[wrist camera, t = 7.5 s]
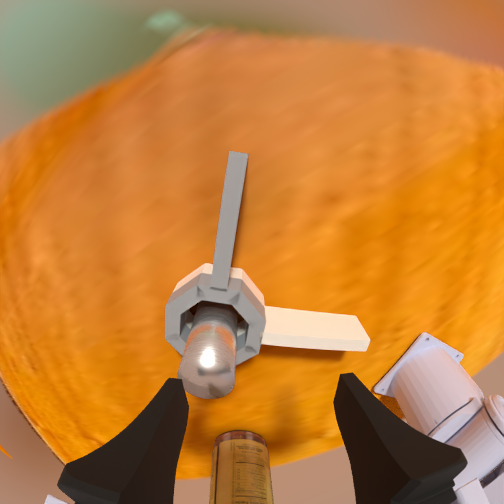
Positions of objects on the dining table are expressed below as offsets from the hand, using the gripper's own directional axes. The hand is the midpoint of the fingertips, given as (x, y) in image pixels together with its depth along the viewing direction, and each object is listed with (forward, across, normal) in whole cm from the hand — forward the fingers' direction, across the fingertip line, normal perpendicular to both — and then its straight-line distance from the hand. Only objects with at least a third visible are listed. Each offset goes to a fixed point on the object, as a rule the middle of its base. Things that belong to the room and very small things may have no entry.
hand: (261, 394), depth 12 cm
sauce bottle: (+10, +2, +19) cm, 22 cm away
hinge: (+10, -2, -3) cm, 10 cm away
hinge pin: (+10, +3, +1) cm, 10 cm away
